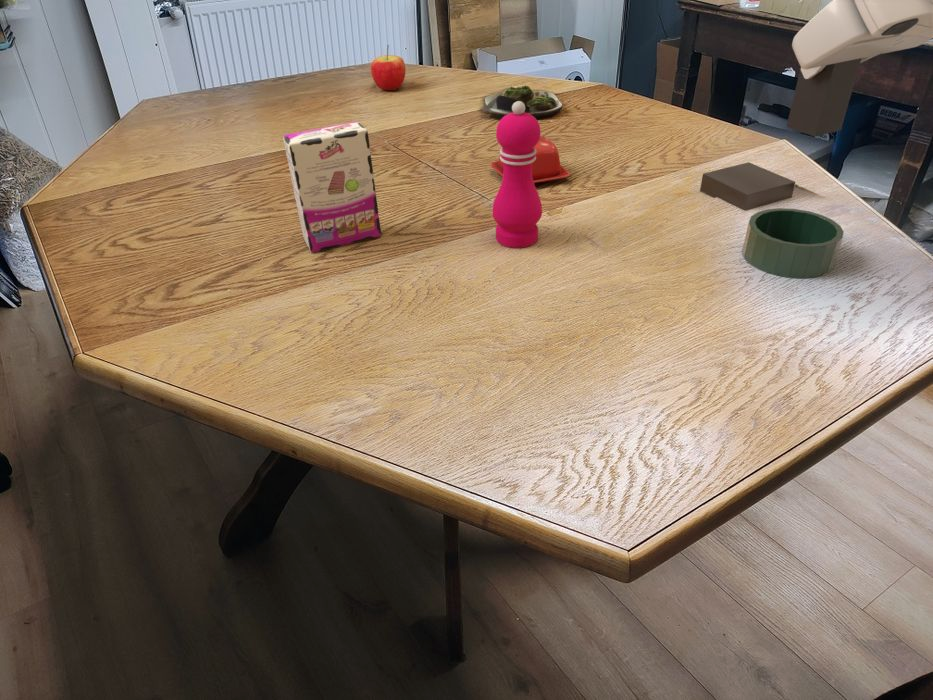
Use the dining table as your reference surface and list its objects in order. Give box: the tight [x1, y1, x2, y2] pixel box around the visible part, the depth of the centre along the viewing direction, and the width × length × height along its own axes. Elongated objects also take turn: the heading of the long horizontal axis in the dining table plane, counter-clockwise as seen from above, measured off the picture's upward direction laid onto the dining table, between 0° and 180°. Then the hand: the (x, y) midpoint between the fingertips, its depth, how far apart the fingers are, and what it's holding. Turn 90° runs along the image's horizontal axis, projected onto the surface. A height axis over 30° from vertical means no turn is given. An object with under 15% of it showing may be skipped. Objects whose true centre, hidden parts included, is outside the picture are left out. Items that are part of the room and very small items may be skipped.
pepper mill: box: [491, 101, 543, 249], centre depth 96 cm, size 7×7×20 cm
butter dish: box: [490, 134, 571, 184], centre depth 119 cm, size 12×12×8 cm
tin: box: [741, 207, 844, 280], centre depth 93 cm, size 12×12×5 cm
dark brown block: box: [786, 58, 861, 138], centre depth 83 cm, size 4×4×10 cm
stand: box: [699, 162, 796, 212], centre depth 111 cm, size 10×10×3 cm
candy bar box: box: [282, 121, 382, 254], centre depth 99 cm, size 11×5×16 cm, turn 115°
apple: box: [370, 44, 406, 91], centre depth 166 cm, size 8×8×10 cm
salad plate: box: [481, 84, 563, 121], centre depth 152 cm, size 19×18×5 cm
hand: (824, 69), depth 83 cm, fingers closed on dark brown block, 4 cm apart
